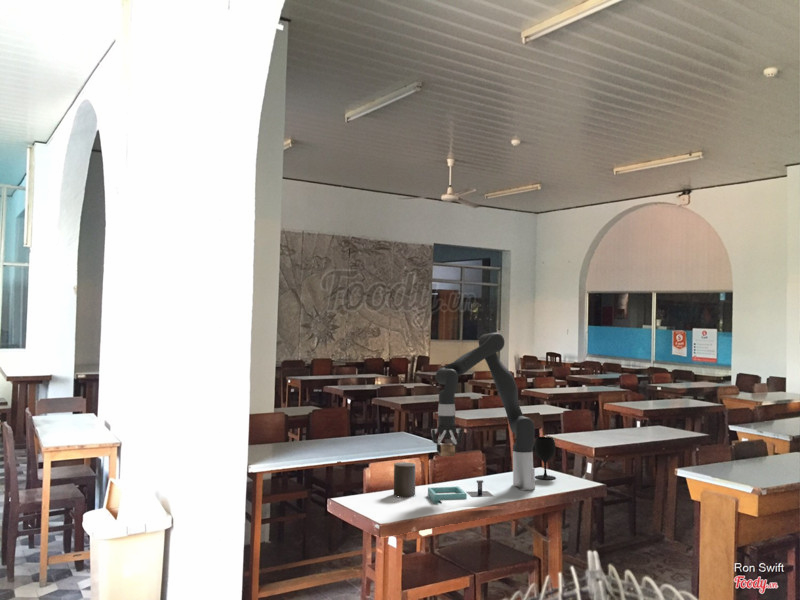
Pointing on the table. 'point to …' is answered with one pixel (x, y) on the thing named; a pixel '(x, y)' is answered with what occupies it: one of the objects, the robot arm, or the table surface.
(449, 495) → the tray
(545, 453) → the wine glass
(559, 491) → the table surface
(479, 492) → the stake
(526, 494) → the table surface
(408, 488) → the pillar candle
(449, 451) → the walnut collar
